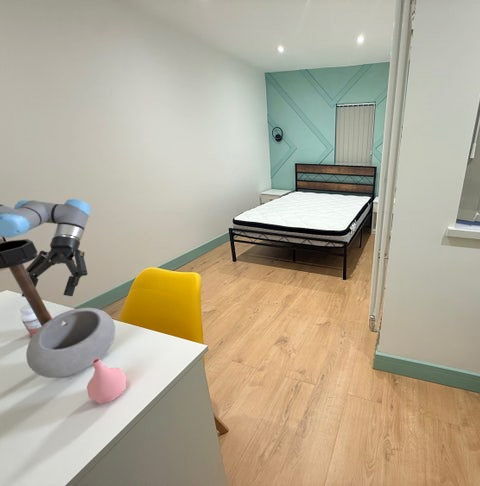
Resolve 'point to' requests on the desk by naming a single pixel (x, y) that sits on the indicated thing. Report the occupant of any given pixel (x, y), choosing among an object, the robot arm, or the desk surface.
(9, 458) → the desk surface
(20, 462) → the desk surface
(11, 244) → the holder
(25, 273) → the stand
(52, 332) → the planter
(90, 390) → the pink vase
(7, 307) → the desk surface
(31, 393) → the desk surface
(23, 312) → the pill bottle
